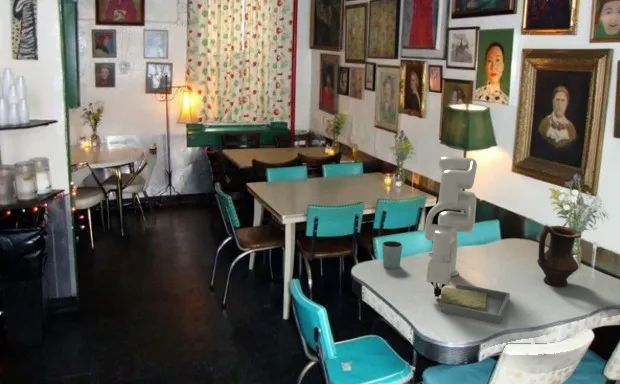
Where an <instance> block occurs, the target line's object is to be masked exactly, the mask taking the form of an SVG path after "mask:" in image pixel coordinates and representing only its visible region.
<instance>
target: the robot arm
mask: <svg viewBox="0 0 620 384" xmlns="http://www.w3.org/2000/svg"><path fill="white" fill-rule="evenodd" d="M438 165H439V169H440V172H441V178H440V184H439V194H438V200H437V203H436V204H435V205H434V206H433V207H432V208H430V210H429V211H428V213H427V215H426V220H425V224H424V225H425V226H424V237H425V239H426V240H427V241H432V249H431V251H432V252H429V253H428V256H429V257H430V259H429V260H428V263H427V271H426V282H427V283H429V284H431V285H432V286H433V294H434V297H437V298H439V297H441V294H442V288H444V287H450V286H451V279H452V277H455V276H457V275H458V274H459V269H458V268H456V267H457V256H458V255H457V254H458V244H459V239H458V233H467V234H468V233H472V232H473V231H474V229H475V222H476V212H477V196H476V194H475V193H474V192H473V191H470V190H471V189H473V186H474V183H475V178H476V173H477V167H478V163H477V161H476V159H474V158H470V157H462V156H461V157H460V156H459V157H458V156H441V158H439V160H438ZM467 190H468V191H467ZM444 210H445V211H444ZM446 210H447V211H446ZM450 210H456V211H450ZM441 211H442V212H441ZM458 211H464V212H458ZM437 213H439V215H438V217H437V224H435V223H433V221H434V217H435V216H436V215H437Z"/></svg>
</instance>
